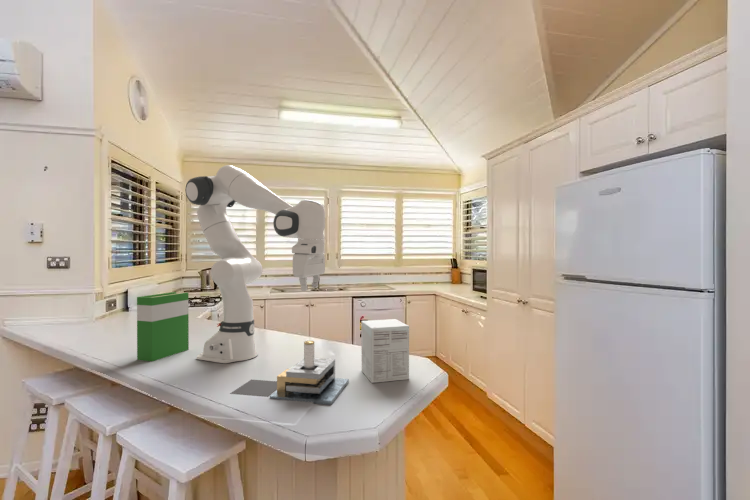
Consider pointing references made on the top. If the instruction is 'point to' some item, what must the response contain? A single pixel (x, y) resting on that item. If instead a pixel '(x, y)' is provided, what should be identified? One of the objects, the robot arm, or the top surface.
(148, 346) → the hardback book
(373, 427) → the top surface
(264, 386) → the mat
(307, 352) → the pin
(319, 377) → the grey layered square block
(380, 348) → the supplement box
